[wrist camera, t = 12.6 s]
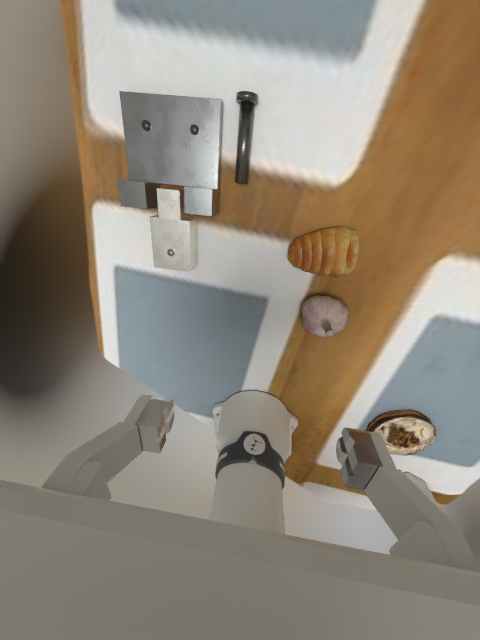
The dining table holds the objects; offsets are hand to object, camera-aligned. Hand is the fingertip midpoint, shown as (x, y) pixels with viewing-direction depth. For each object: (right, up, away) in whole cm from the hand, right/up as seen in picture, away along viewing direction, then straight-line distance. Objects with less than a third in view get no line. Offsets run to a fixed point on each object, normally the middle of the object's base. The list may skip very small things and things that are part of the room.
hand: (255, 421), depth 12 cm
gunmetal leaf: (-9, +27, +20) cm, 35 cm away
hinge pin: (0, +27, +19) cm, 33 cm away
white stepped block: (-10, +19, +25) cm, 33 cm away
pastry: (+12, +15, +24) cm, 31 cm away
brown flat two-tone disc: (+32, -18, +40) cm, 54 cm away
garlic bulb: (+13, +7, +28) cm, 32 cm away
